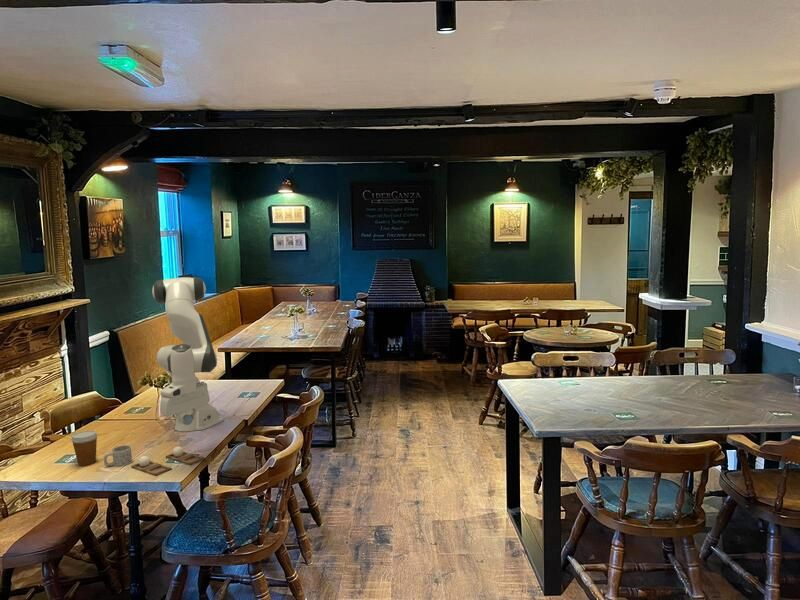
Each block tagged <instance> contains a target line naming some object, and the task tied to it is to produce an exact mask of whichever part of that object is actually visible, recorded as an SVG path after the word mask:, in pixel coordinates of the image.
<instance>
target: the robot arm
mask: <svg viewBox="0 0 800 600" xmlns="http://www.w3.org/2000/svg"><path fill="white" fill-rule="evenodd" d="M151 292H152V297H153V298H154V300H155V302H156V303H158V304H163V305H164V304H165V313H166V317H167V320H168V322H169V329H170V330H169V331H170V333H171V334H172V336H174V337H176V338H177V339H179V340H180V341H181V342H182V343H180V344H171V345H170V344H169V345H166V346H162V347H160V348H159V350H158V351H157V353H156V362H157V364H158V365H159V367H160V368H162V369H163V370H165V371H166V372H167V373H168V374H169V376H170V378H171V383H170V384H168V385H167V386H165V387H163V388H162V389H161V390H160V395H161V398H160V401H159V403H160V404H159V405H160V406H159V407H160V408H159V409H160V414H161V415H162V416H163V417H166V418H168V417H172V416H174V417H176V419H175V425H174V430H175V431H178V432H193V431H204V430H206V429H208V428H211V427H213V426H214V425H218V424H219V423H221V422H223V421H224V417H223V416H221V415H219V413H218V409H217V408H216V407H215V406H213V405H212V404H209V403H210V395H209V394H210V393H209V390H208V384H207V383H206V382H205V381H200V379H199V378H198V377H197V376H196V374H197V373H211V372H212V371H214V370H215V368H216V367H217V364H218V356H217V353H216V351H215V349H214V347H213V344H212V341H211V338H210V334H209V330H208V328H207V325H206V321H205V318H204V316H203V315H202V314H201V313H199V312H197V310H196V309H195V306H194V302H195V303H198V302H199V301H202V300H203V299H204V298H205V295H206V292H207V288H206V284H205V282H204V279H202V278H201V277H196V276H195V277H194V276H193V277H177V278H167V279H158V280H156V281H155V282H154V283H153V286H152V290H151ZM195 373H196V374H195ZM184 415H191V416H192V418H193V421H192V423H191V424H189V425H185V424H183V423H184V418H183V416H184Z"/></svg>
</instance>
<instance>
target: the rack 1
mask: <svg viewBox="0 0 800 600" xmlns="http://www.w3.org/2000/svg"><path fill="white" fill-rule="evenodd" d="M130 467H131V469H134V470H136V471H139V472H141V473H142V472H143V473H145V474H148V475H150V476H153V477H158V476H160V475H162V474H165V473H167V472H170V471H173V468H172V467H170V466H168V465H164V464H161V463H159V462H155V461H151V460H150V463H149V464H148V465H147V466H145V467H142V466H140V465H139V462H138V463H136V464H132V465H131V466H130Z"/></svg>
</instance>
